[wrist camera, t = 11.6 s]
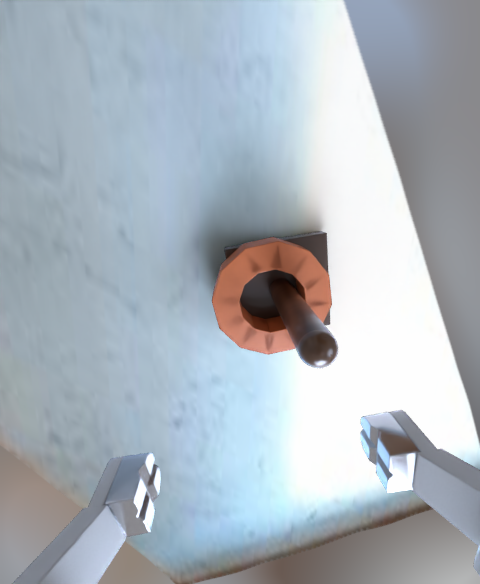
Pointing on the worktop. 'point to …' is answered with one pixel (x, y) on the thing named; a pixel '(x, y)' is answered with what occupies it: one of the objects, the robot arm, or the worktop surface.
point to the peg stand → (293, 304)
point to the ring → (248, 264)
